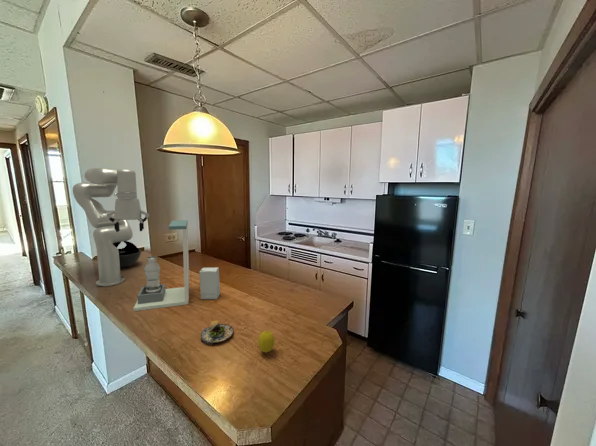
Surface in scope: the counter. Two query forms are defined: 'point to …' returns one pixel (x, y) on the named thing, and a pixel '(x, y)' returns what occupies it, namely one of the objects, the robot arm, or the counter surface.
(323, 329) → the counter surface
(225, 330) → the plate of salad
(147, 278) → the grey tall bottle shape
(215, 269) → the skincare box
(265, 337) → the lemon
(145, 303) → the socket stand
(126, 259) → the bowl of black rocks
